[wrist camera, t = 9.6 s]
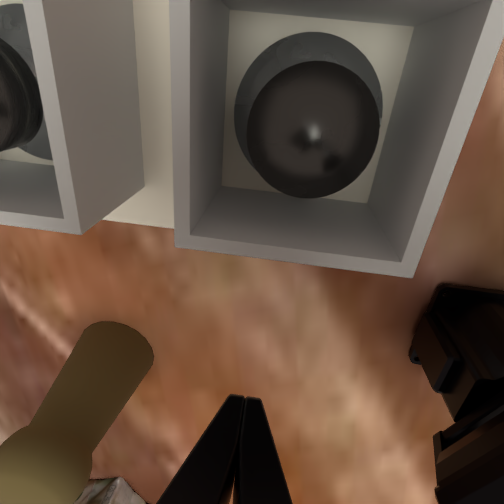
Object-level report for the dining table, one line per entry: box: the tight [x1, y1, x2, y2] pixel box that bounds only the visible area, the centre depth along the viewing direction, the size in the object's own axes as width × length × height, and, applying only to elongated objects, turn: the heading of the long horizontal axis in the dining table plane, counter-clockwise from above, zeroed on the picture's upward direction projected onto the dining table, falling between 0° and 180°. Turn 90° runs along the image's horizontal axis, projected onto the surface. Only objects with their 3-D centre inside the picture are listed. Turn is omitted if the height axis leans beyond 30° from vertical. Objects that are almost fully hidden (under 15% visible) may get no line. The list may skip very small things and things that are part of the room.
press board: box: [0, 0, 504, 278], centre depth 14 cm, size 28×14×8 cm, turn 85°
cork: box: [0, 322, 154, 504], centre depth 22 cm, size 6×6×11 cm
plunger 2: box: [234, 32, 383, 199], centre depth 14 cm, size 7×7×6 cm
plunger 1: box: [0, 3, 53, 160], centre depth 14 cm, size 7×7×6 cm
